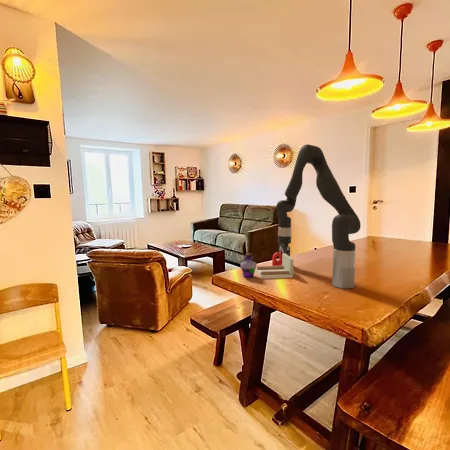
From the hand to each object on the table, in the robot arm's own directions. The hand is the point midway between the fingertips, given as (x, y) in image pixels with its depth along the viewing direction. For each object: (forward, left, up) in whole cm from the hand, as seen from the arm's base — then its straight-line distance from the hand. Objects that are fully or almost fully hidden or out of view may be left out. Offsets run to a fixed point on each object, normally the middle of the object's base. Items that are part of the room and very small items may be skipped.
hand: (283, 262), depth 167 cm
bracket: (+1, 0, -3) cm, 3 cm away
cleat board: (-15, +10, -2) cm, 18 cm away
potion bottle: (-17, +24, -3) cm, 30 cm away
